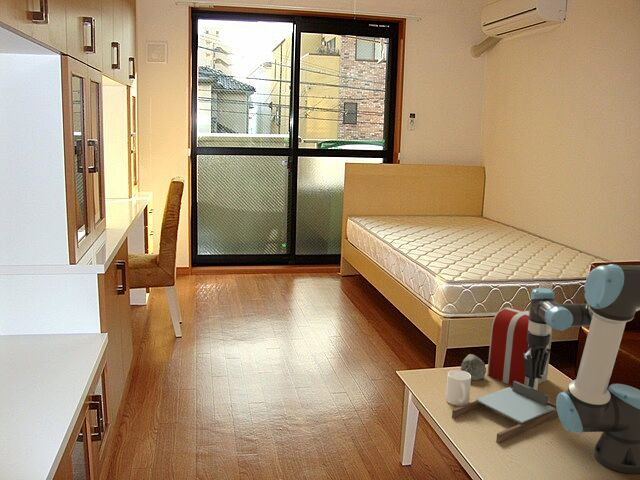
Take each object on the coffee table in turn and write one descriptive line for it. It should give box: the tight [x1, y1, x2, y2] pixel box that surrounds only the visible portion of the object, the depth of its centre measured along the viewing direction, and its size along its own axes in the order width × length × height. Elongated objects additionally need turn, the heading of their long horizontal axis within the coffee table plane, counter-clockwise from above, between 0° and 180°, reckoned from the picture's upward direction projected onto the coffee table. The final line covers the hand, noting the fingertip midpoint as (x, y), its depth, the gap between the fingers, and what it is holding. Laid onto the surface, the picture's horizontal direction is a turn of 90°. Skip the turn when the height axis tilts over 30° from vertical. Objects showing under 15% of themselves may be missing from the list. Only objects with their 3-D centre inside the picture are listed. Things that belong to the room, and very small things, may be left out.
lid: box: [475, 381, 555, 424], centre depth 219 cm, size 19×18×4 cm
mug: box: [445, 369, 472, 407], centre depth 226 cm, size 12×8×10 cm
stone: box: [460, 353, 487, 381], centre depth 249 cm, size 10×10×10 cm
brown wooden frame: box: [451, 386, 559, 444], centre depth 218 cm, size 20×34×3 cm, turn 126°
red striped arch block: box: [486, 306, 553, 387], centre depth 247 cm, size 16×18×27 cm
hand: (532, 394), depth 224 cm, fingers closed
